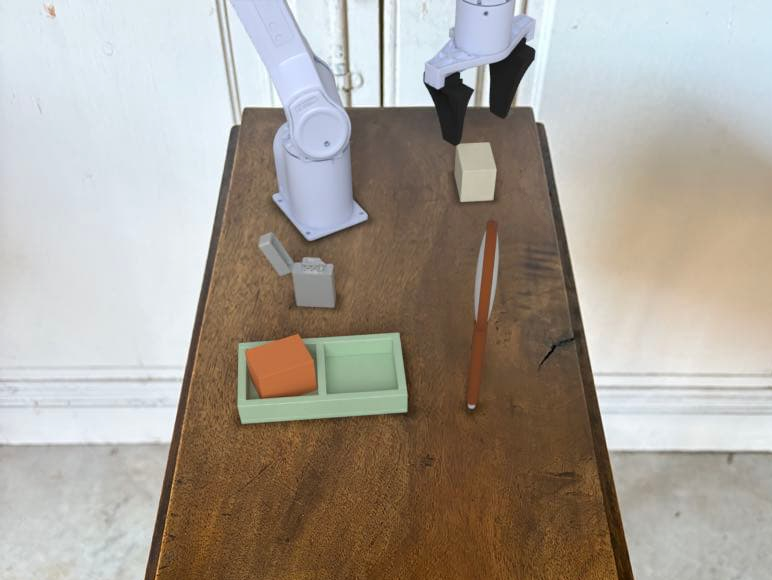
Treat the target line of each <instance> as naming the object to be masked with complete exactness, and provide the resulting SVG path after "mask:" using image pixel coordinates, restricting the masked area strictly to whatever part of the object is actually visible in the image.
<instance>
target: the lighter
mask: <svg viewBox="0 0 772 580" xmlns="http://www.w3.org/2000/svg"><path fill="white" fill-rule="evenodd" d="M258 248H259V249H260V251H261V252H262V253H263V255H264V256H265V258H266V259H267V260H268V262H269V263H270V264H271V266H272V268H274V270H275V271H276V272H277V274H278V276H279V277H283V276H287V275H289V274H291V276H292V284H293V290H294V297H295V304H296V306H297V307H307V308H308V307H310V308H329V309H331V308H332V309H333V308H336V301H337V290H336V279H335V269H334V264H333V263H325V262H324V261H323V260H322V259H321V257H311V256H310V257H309V256H304V257H302V261H301V262H300V261H299V262H294V259H292V257H291V256H290V254H289V252H288V251H287V250H286V249H285V247H284V246H283V244H282V243H281V241H280V240H279V239H278V237H277V236H276V234H275V232H273V231H270V232H268V233H265V234H263V235H260V238H259V241H258Z"/></svg>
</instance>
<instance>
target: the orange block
mask: <svg viewBox="0 0 772 580" xmlns="http://www.w3.org/2000/svg"><path fill="white" fill-rule="evenodd" d="M302 339H303V338H302V337H301V336H300V334H299V333H296V334H293V335H290V336H286V337H283V338H280V339H277V341H276V340H273V341H274V342H270V343H267V344H264V345H261V346H258V347H255V348H252V349H249V350H245V356H246V360H247V365H248V369H249V374H250V378H251V381H252V383H253V385H254V387H255V389H256V391H257V393H258V395H259V397H260V399H267V398H281V397H296V396H300V395H303V394H306V393H309V392H312V391H315V390H317V383H316V375H315V367H314V360H313V359H312V357H311V355H310V353H309V351H308V350H307V348H306V346H305V344H304V343H303V341H302Z"/></svg>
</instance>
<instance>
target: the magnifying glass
mask: <svg viewBox="0 0 772 580" xmlns="http://www.w3.org/2000/svg"><path fill="white" fill-rule="evenodd" d="M485 227H486V228H485V231H484V234H483V237H482V241H481V244H480V248H479V253H478V258H477V264H476V272H475V281H474V316H475V317H474V318H475V319H474V322H473V330H472V340H471V347H470V359H469V367H468V368H469V369H468V375H467V376H468V377H467V387H466V397H465V402H466V404H467V407H468V408H469V409H471V410H472V409H475V408H476V405H477V404H478V403H479V397H480V390H481V382H482V375H483V368H484V367H483V366H484V359H485V351H486V345H487V344H486V343H487V335H488V327H489V319H490V316H491V313H492V310H493V305H494V301H495V295H496V290H497V284H498V276H499V275H498V274H499V273H498V272H499V259H500V258H499V256H500V255H499V253H500V249H499V246H500V245H499V234H498V229H499V223H498V221H497V220H494V219H490V220H487V222H486V225H485Z"/></svg>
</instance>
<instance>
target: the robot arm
mask: <svg viewBox="0 0 772 580" xmlns="http://www.w3.org/2000/svg"><path fill="white" fill-rule="evenodd" d="M229 2H230V4H231V6H232V8H233V10H234V12H235V13H236V15H237V17H238V19H239V21H240V23H241V25H242V26H243V28H244V30H245V32H246V34H247V36H248V37H249V39H250V41H251V43H252V45H253V46H254V48H255V50H256V52H257V55H258V56H259V57H260V60H261V61H262V63H263V65H264V66H265V68H266V71H267V72H268V75H269V77H270V80H271V82H272V85H273V87H274V89H275V91H276V93H277V96H278V99H279V101H280V104H281V106H282V108H283V111H284V115H285V118H286V122H284V123H283V124H282V125H281V126H279V128H278V129H277V131H276V134H275V136H274V138H273V143H272V153H273V158H274V166H275V172H276V173H275V174H276V180H277V186H278V192H276V193H274V194H273V195H272V197H271V198H272V200H273V202H274V203H275V204H276V205H277V206H278V208H279V209H280V210H281V211H282V212H283V214H284V215H285V216H286V217H287V218H288V219H289V221H290V222H291V223H292V224H293V225H294V227H295V228H296V229H297V230H298V231H299V232H300V233H301V235H302V236H303V237H304V238H305V239H306V240H307V241H308V242H312V241H316V240H317V239H321V238H322V237H326V236H328V235H331V234H334V233H336V232H339V231H342V230H344V229H347V228H349V227H352V226H355V225H358V224H360V223H364V222H365V221H367V220H368V219H369V216H368V213H367V212H366V211H365V210H364V209H363V208H362V207H361V205H359V203H357V202H356V201H355V199H354V196H353V192H354V191H353V173H352V159H351V141H350V138H351V134H352V122H351V118H350V116H349V114H348V112H347V111H346V109H345V107H344V103H343V102H342V98H341V96H340V92H339V90H338V87H337V83H336V78H335V74H334V72H333V70H332V68H331V67H330V65H329V64H328V63H327V62H326V61H324V60H323V59H321V58H320V57H319V56H318V55H317V54H316V53H315V52H314V51H313V49H312V47H311V45H310V43H309V41H308V39H307V38H306V36H305V34H303V32H302V30H301V27H300V25H299V23H298V22H297V20H296V18H295V15H294V14H293V12H292V9H291V7H290V6H289V3H288V1H287V0H229ZM514 7H515V0H455V12H454V13H455V15H454V26H452V27H450V28H449V29H448V38H449V40H448V41H447V42H446V43H445V44H444V45H443V46H442V47H441V49H440V50H439V51H438V52H437V53H436V54H435V55H434V56H433V57H432V58H430V59H429V60H427V61H425V62H424V71H423V75H422V77H423V79H422V82H423V84H424V86H425V88H426V89H427V91H428V94H429V95H430V97H431V100H432V103H433V105H434V107H435V111H436V113H437V117H438V122H439V126H440V130H441V131H440V132H441V137H442V140H443V141H445V142H447V143H448V144H450V145H452V146H453V147H456V146H457V145H459V144H461V142H462V139H463V132H464V124H465V116H466V113H467V109H468V106H469V103H470V101H471V98H472V96H473V94H474V92H475V89H474V88H473V87H471V86H470V85H467V84H465V83H464V79H463V78H461V73H463V72H464V71H467V70H470V69H474V68H477V67H478V68H479V67H481V66H486V65H488V70H489V71H488V72H489V90H488V91H489V92H488V93H489V94H488V107H489V112H490V113H491V114H492V115H495V116H497V117H498V118H500V119H501V120H504V119H506V118H508V115H509V113H510V109H511V107H512V104H513V101H514V98H515V96H516V93H517V91H518V89H519V86H520V84H521V81H522V80H523V79H524V76H525V75H526V73H527V71H528V69H529V68H530V66H531V65H532V64H533V62H534V61H535V59H536V49H535V48H534V47H532V46H530V45H529V44H527V43H528V42H530V41H532V40H534V39H535V31H536V23H537V19H535V18H533V17H532V16H529V15H527V14H525V13H522V12H521V13H520V14H517V15H515V16H514Z"/></svg>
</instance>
